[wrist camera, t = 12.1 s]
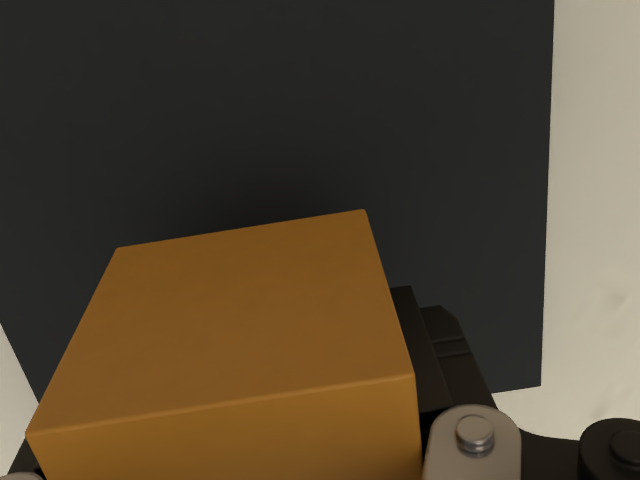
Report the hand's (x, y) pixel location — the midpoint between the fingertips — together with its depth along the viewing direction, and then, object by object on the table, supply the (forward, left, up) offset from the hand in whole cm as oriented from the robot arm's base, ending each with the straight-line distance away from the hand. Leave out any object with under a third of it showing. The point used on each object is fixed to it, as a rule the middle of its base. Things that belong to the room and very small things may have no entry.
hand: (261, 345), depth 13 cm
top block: (0, 0, -1) cm, 1 cm away
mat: (0, 0, -5) cm, 5 cm away
